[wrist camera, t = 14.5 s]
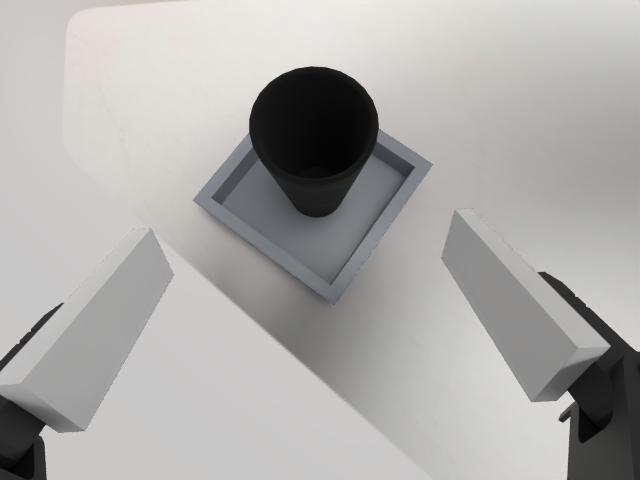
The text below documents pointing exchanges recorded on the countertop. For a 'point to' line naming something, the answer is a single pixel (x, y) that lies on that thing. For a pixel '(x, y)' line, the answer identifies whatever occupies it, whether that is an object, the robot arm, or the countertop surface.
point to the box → (307, 232)
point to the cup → (314, 135)
